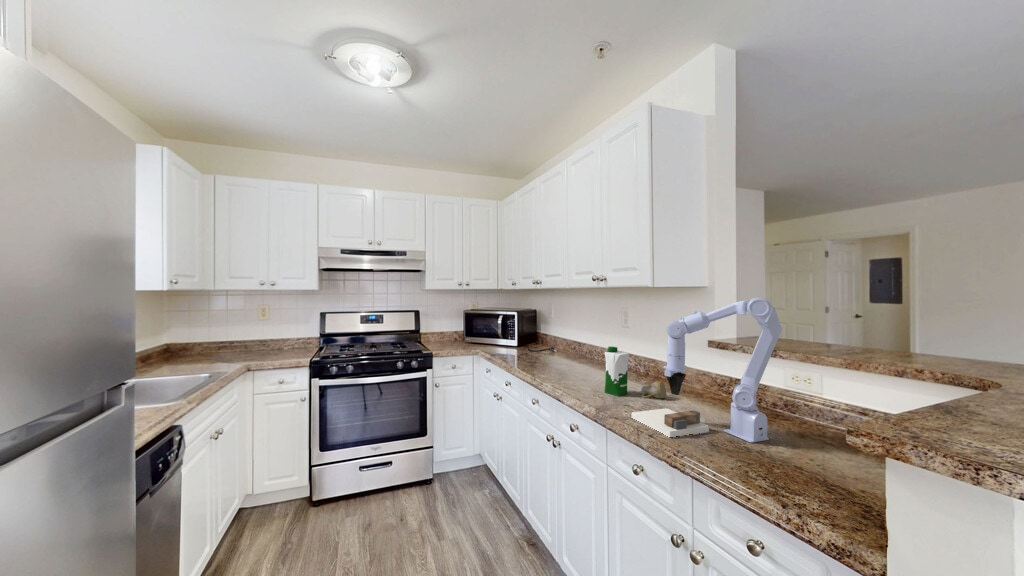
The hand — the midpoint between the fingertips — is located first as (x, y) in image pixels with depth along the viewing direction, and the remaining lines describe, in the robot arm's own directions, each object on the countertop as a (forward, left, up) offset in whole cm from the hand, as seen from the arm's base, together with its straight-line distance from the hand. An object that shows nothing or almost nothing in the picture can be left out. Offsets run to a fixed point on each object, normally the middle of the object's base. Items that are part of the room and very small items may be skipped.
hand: (675, 394), depth 126 cm
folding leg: (-8, +4, -7) cm, 11 cm away
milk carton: (+35, -1, -10) cm, 36 cm away
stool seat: (-2, +5, -9) cm, 11 cm away
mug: (+26, -13, -10) cm, 31 cm away
